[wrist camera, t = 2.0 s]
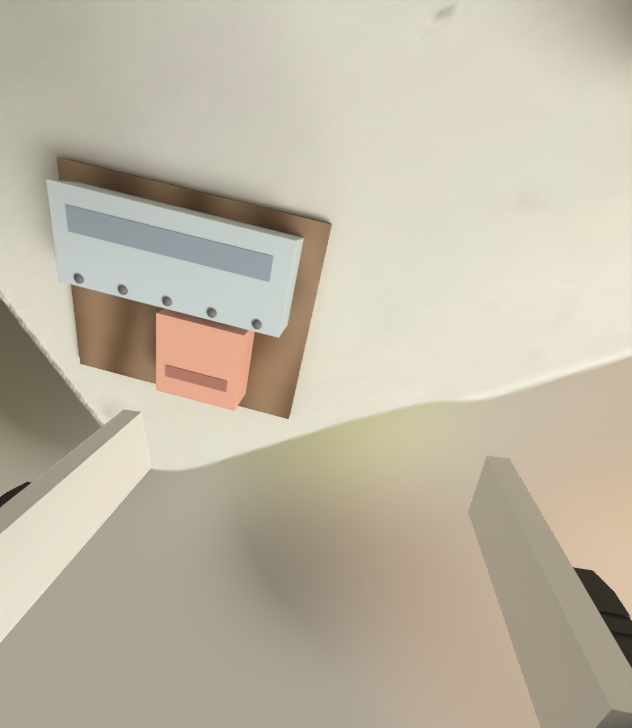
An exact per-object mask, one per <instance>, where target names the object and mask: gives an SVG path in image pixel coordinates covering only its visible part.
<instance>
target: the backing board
mask: <svg viewBox="0 0 632 728" xmlns="http://www.w3.org/2000/svg"><path fill="white" fill-rule="evenodd" d="M57 161H58V170H59V179H60V181H69V182H79V183H84V184H88V185H92V186H96V187H101V188H105V189H109V190H113V191H117V192H121V193H125V194H129V195H133V196H137V197H141V198H145V199H149V200H153V201H157V202H161V203H165V204H169V205H173V206H178V207H182V208H186V209H190V210H194V211H198V212H202V213H206V214H210V215H214V216H218V217H222V218H226V219H230V220H234V221H238V222H242V223H246V224H251V225H255V226H259V227H263V228H267V229H271V230H275V231H279V232H283V233H287V234H291V235H295V236H299V237H303V238H304V240H303V245H302V251H301V256H300V261H299V267H298V272H297V277H296V283H295V288H294V293H293V299H292V304H291V309H290V314H289V320H288V325H287V327H286V328H285V329H284V331H283V332H282V334H281V335H280V337H279V338H278V337H274V336H270V335H266V334H262V333H258V332H255V333H254V340H253V347H252V354H251V361H250V368H249V375H248V382H247V389H246V394H245V396H244V397H243V399H242V400H241V402H240V403H239V405H238V406H241V407H245V408H249V409H253V410H256V411H260V412H264V413H268V414H271V415H275V416H279V417H283V418H286V419H289V416H290V412H291V408H292V403H293V399H294V394H295V390H296V385H297V380H298V376H299V371H300V367H301V362H302V358H303V353H304V349H305V344H306V340H307V335H308V330H309V326H310V321H311V317H312V312H313V308H314V303H315V299H316V294H317V290H318V285H319V280H320V276H321V271H322V267H323V262H324V258H325V253H326V249H327V244H328V240H329V235H330V230H331V226H332V224H329V223H325V222H321V221H317V220H313V219H309V218H304V217H300V216H296V215H292V214H288V213H284V212H280V211H276V210H272V209H268V208H264V207H259V206H255V205H251V204H247V203H243V202H239V201H235V200H231V199H227V198H223V197H219V196H215V195H210V194H206V193H202V192H198V191H194V190H190V189H186V188H182V187H178V186H174V185H170V184H165V183H161V182H157V181H153V180H149V179H145V178H141V177H137V176H133V175H129V174H125V173H120V172H116V171H112V170H108V169H104V168H100V167H96V166H92V165H88V164H84V163H80V162H75V161H71V160H67V159H63V158H57ZM71 285H72V284H71ZM72 294H73V303H74V312H75V321H76V329H77V338H78V347H79V356H80V364H83V365H87V366H91V367H95V368H98V369H102V370H106V371H110V372H113V373H117V374H121V375H125V376H128V377H132V378H136V379H140V380H144V381H147V382H151V383H155V384H156V313H157V312H159V311H161V310H163V309H165V308H161V307H157V306H153V305H150V304H146V303H142V302H138V301H134V300H130V299H126V298H122V297H119V296H115V295H111V294H107V293H103V292H99V291H95V290H91V289H88V288H84V287H80V286H76V285H72Z"/></svg>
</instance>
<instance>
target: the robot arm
mask: <svg viewBox="0 0 632 728" xmlns="http://www.w3.org/2000/svg"><path fill="white" fill-rule="evenodd" d="M151 467H152V461H151V456H150V451H149V446H148V441H147V437H146V432H145V427H144V422H143V417H142V412H138V411H130V410H123V411H121V412H120V413H119V414H118V415H116V416H115V417H114V418H113V419H111V420H110V421H109V422H108V423H106V424H105V425H104V426H103V427H101V428H100V429H99V430H97V431H96V432H95V433H94V434H92V435H91V436H90V437H89V438H87V439H86V440H85V441H84V442H82V443H81V444H80V445H79V446H77V447H76V448H75V449H74V450H72V451H71V452H70V453H69V454H67V455H66V456H65V457H63V458H62V459H61V460H60V461H58V462H57V463H56V464H55V465H53V466H52V467H51V468H50V469H48V470H47V471H46V472H44V473H43V474H42V475H41V476H39V477H38V478H37V479H36V480H34V481H33V482H32V483H31V482H26V483H24V484H22V485H20V486H18V487H16V488H14V489H13V490H10V491H9V492H7V493H5V494H4V495H2V496H1V497H0V642H1V641H2V640H3V639H4V638H5V636H6V635H7V634H8V633H9V632H10V631H11V629H12V628H13V627H14V626H15V625H16V624H17V623H18V621H19V620H20V619H21V618H22V617H23V615H24V614H25V613H26V612H27V611H28V610H29V608H30V607H31V606H32V605H33V604H34V603H35V602H36V600H37V599H38V598H39V597H40V596H41V595H42V593H43V592H44V591H45V590H46V589H47V588H48V587H49V585H50V584H51V583H52V582H53V581H54V580H55V578H56V577H57V576H58V575H59V574H60V573H61V572H62V570H63V569H64V568H65V567H66V566H67V565H68V563H69V562H70V561H71V560H72V559H73V558H74V556H75V555H76V554H77V553H78V552H79V551H80V549H81V548H82V547H83V546H84V545H85V544H86V543H87V541H88V540H89V539H90V538H91V537H92V536H93V534H94V533H95V532H96V531H97V530H98V529H99V527H100V526H101V525H102V524H103V523H104V522H105V521H106V519H107V518H108V517H109V516H110V514H112V512H113V511H114V510H115V509H116V508H117V507H118V505H119V504H120V503H121V502H122V501H123V500H124V498H125V497H126V496H127V495H128V494H129V493H130V492H131V490H132V489H133V488H134V487H135V486H136V485H137V483H138V482H139V481H140V480H141V479H142V478H143V477H144V475H145V474H146V473H147V472H148V471H149V470H150V468H151ZM468 513H469V516H470V519H471V522H472V525H473V528H474V530H475V534H476V537H477V540H478V543H479V546H480V549H481V552H482V555H483V558H484V560H485V563H486V566H487V569H488V572H489V575H490V578H491V581H492V584H493V587H494V590H495V593H496V596H497V599H498V602H499V605H500V607H501V611H502V614H503V617H504V620H505V623H506V625H507V628H508V631H509V635H510V637H511V641H512V643H513V647H514V649H515V652H516V655H517V658H518V661H519V664H520V667H521V670H522V673H523V676H524V679H525V682H526V685H527V688H528V691H529V694H530V697H531V700H532V703H533V706H534V709H535V712H536V715H537V718H538V721H539V723H540V726H541V728H632V621H631V619H630V615H629V614H628V612H627V611H626V609H625V607H624V606H623V604H622V603H621V602H620V600H619V598H618V597H617V595H616V594H615V592H614V591H613V590H612V589H611V588H610V587H609V586H608V585H607V584H606V583H605V582H604V581H603V580H602V579H601V578H600V577H599V576H598V575H597V574H596V573H595V572H594V571H592V570H585V569H579V568H573V567H572V565H571V563H570V562H569V560H568V558H567V557H566V555H565V553H564V552H563V550H562V548H561V547H560V545H559V543H558V541H557V539H556V538H555V536H554V534H553V532H552V531H551V529H550V527H549V525H548V524H547V522H546V520H545V519H544V517H543V515H542V513H541V512H540V510H539V508H538V507H537V505H536V503H535V502H534V500H533V498H532V496H531V495H530V493H529V491H528V489H527V488H526V486H525V485H524V483H523V481H522V479H521V477H520V476H519V474H518V472H517V471H516V469H515V467H514V465H513V464H512V462H511V460H510V459H508V458H501V457H493V456H487V457H486V460H485V463H484V466H483V469H482V472H481V475H480V478H479V481H478V484H477V487H476V490H475V493H474V496H473V499H472V502H471V505H470V508H469V511H468Z"/></svg>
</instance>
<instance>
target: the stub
mask: <svg viewBox="0 0 632 728" xmlns="http://www.w3.org/2000/svg"><path fill="white" fill-rule="evenodd" d="M254 333H255V332H254V331H250V330H247V329H243V328H239V327H235V326H231V325H227V324H223V323H219V322H216V321H212V320H208V319H204V318H200V317H196V316H192V315H188V314H184V313H181V312H177V311H173V310H169V309H163V310H161V311H159V312H157V313H156V390H158V391H162V392H166V393H170V394H173V395H177V396H181V397H185V398H188V399H192V400H196V401H200V402H203V403H207V404H211V405H215V406H218V407H222V408H226V409H230V410H233V411H235V409H236V408H237V406H238V405H239V403H240V402H241V400H242V399H243V397H244V396H245V394H246V389H247V382H248V375H249V368H250V361H251V354H252V347H253V340H254Z"/></svg>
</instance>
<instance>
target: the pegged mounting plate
mask: <svg viewBox="0 0 632 728" xmlns="http://www.w3.org/2000/svg"><path fill="white" fill-rule="evenodd" d="M46 185H47V193H48V201H49V208H50V216H51V224H52V232H53V239H54V247H55V255H56V262H57V270H58V278H59V281H60V282H64V283H68V284H72V285H76V286H80V287H84V288H88V289H91V290H95V291H99V292H103V293H107V294H111V295H115V296H119V297H122V298H126V299H130V300H134V301H138V302H142V303H146V304H150V305H153V306H157V307H161V308H165V309H169V310H173V311H177V312H181V313H184V314H188V315H192V316H196V317H200V318H204V319H208V320H212V321H216V322H219V323H223V324H227V325H231V326H235V327H239V328H243V329H247V330H250V331H254V332H258V333H262V334H266V335H270V336H274V337H278V338H279V337H280V335H281V334H282V332H283V331H284V329H285V328H286V327H287V325H288V320H289V314H290V309H291V304H292V299H293V293H294V288H295V283H296V277H297V272H298V267H299V261H300V256H301V251H302V245H303V240H304V238H303V237H299V236H295V235H291V234H287V233H283V232H279V231H275V230H271V229H267V228H263V227H259V226H255V225H251V224H246V223H242V222H238V221H234V220H230V219H226V218H222V217H218V216H214V215H210V214H206V213H202V212H198V211H194V210H190V209H186V208H182V207H178V206H173V205H169V204H165V203H161V202H157V201H153V200H149V199H145V198H141V197H137V196H133V195H129V194H125V193H121V192H117V191H113V190H109V189H105V188H101V187H96V186H92V185H88V184H84V183H79V182H69V181H60V180H50V179H46Z"/></svg>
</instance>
